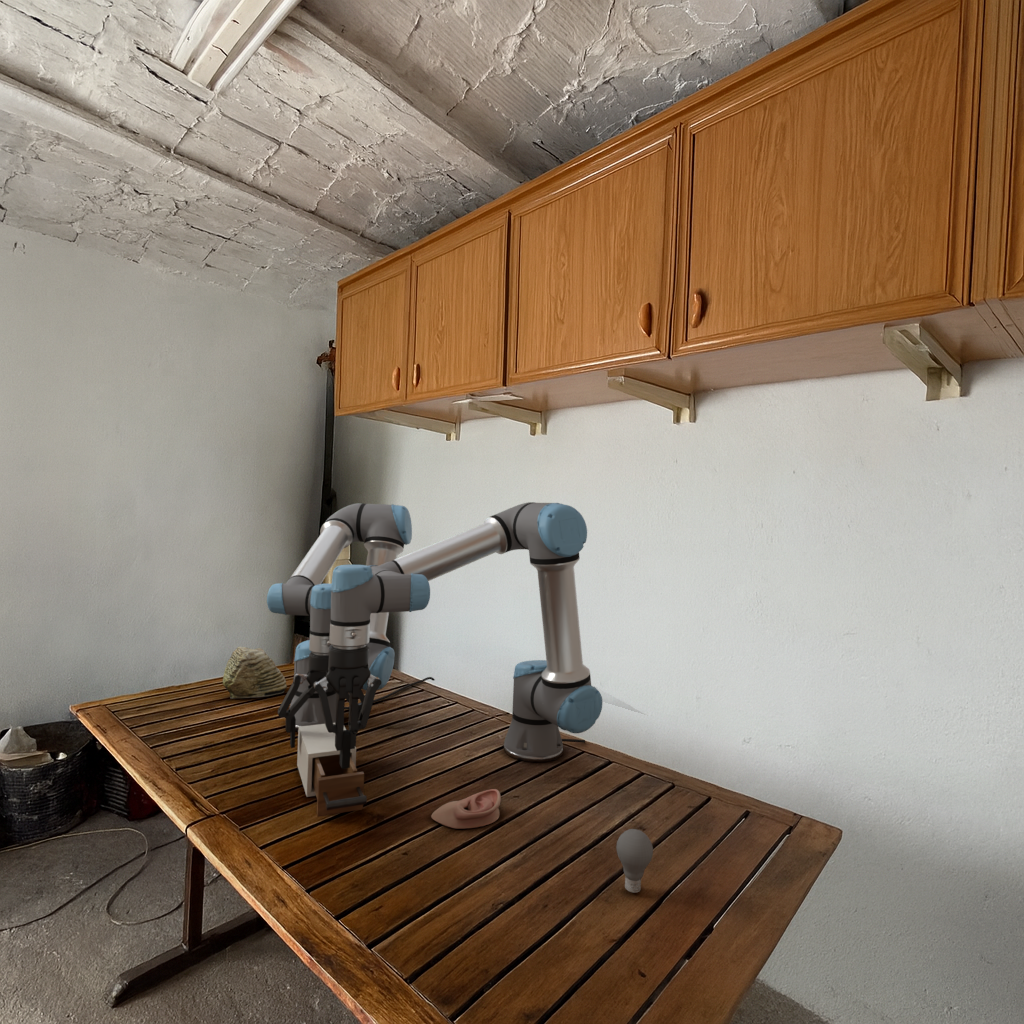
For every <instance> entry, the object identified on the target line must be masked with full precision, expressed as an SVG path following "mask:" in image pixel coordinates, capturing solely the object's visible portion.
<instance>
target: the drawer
mask: <svg viewBox="0 0 1024 1024" xmlns="http://www.w3.org/2000/svg"><path fill="white" fill-rule="evenodd" d="M312 785H313V788H314V791H315V794H316V796H315V798H316V816H317V818H319V817H325V816H331V815H336V814H343V813H348V812H354V811H355V812H356V811H360V810H363V809H364V805H367V803H368V797H367V795H365V793H364V792H365V791H364V790H365V789H364V788H365V773H364V771H358V769H357V766H356V767H355V765H354V763H353V761H352V759H351V757H350V768H345V769H342V768H341V766H340V754H338V755H330V756H322V757H315V758H313V760H312Z"/></svg>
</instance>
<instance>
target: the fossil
mask: <svg viewBox="0 0 1024 1024" xmlns="http://www.w3.org/2000/svg"><path fill="white" fill-rule="evenodd" d="M222 676H223V677H222V685H223V687H224V688H225V690H226V691H228V693H229V698H230V699H250V698H264V697H271V696H275V695H281V694H284V693H285V691H286V689H287V687H288V686H287V680H286V678H285V676H284V674H283V673H282V672H281V669H279V668H278V667H277V665H276V663H275V662H274V660H273V659H272V658H271V657H270V656H269V655H268V654H267V653H266V652H265V650H264V649H263V648H260V647H258V648H251V647H247V646H246V647H245V646H238V647H237V648H236V649H235V650H233V651H232V653H231V656H230V657H229V659H228V660H227V663H226V666H225V668H224V671H223V675H222Z"/></svg>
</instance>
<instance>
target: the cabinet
mask: <svg viewBox="0 0 1024 1024" xmlns="http://www.w3.org/2000/svg"><path fill="white" fill-rule="evenodd" d="M333 724H335V723H333ZM298 730H299V731H297V733H298V734H297V758H296V759H297V760H296V766H297V770H298V773H299V776H300V779H301V782H302V786H303V789H304V792H305V796H306V798H309V797H316V794H315V791H314V788H313V785H312V760H313V758H315V757H322V756H330V755H338V754H340V751H337V750H336V748H335V733H329V732H328V730H327V728H326V725H325V724H318V725H309V726H300V727H299V729H298ZM344 730H347V728H346V727H345V725H344ZM350 757H351V759H352V761H353V763H354V765H355V767H356V768H357V746H356V747H355V749H350Z"/></svg>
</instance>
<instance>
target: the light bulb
mask: <svg viewBox="0 0 1024 1024" xmlns="http://www.w3.org/2000/svg"><path fill="white" fill-rule="evenodd" d="M615 849H616V854H617V857H618V859H619V861H620V863H621V865H622V867H623V873H624V874H623V875H624V876H625V878H624V888H625V890H627V891H628V892H630V893H634V894H635V893H639V892H640V891H641V889H642V887H641V886H642V879H643V877H644V875H645V871H646V868H647V867H648V866H649V864H650V863H651V861H652V859H653V855H654V847H653V843H652V841H651V838H649V836H648V835H647V834H646V833H645V832H643V831H642V830H641V829H636V828H629V829H627V830H625V831H623V832H622V833H621V834H620V835H619V837H618V839H617V841H616V847H615Z"/></svg>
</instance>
